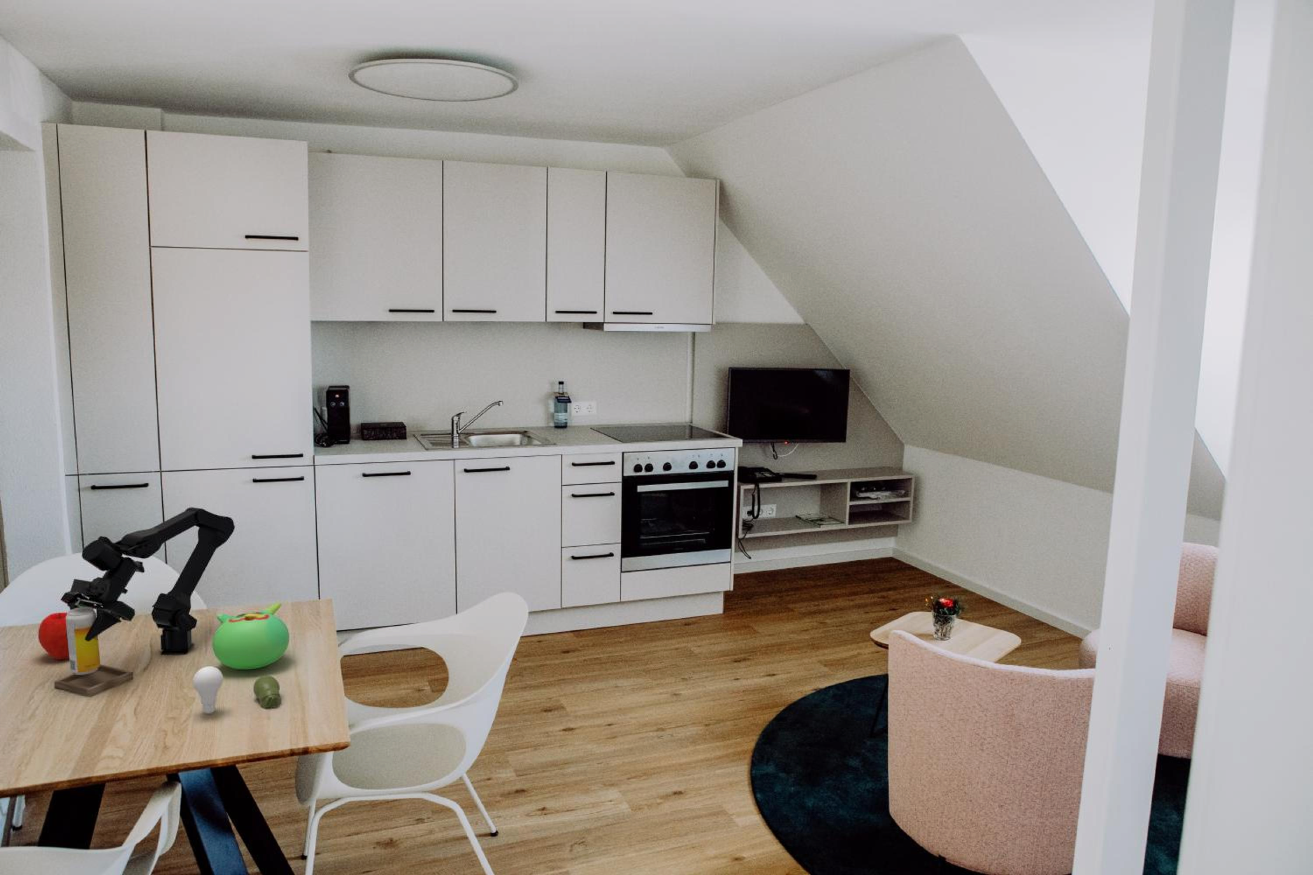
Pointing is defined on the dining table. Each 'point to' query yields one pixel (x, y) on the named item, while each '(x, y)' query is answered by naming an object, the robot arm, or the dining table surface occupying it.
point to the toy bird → (251, 639)
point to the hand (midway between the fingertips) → (77, 638)
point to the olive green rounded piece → (267, 691)
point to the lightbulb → (208, 687)
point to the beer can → (82, 641)
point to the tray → (94, 681)
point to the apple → (54, 635)
